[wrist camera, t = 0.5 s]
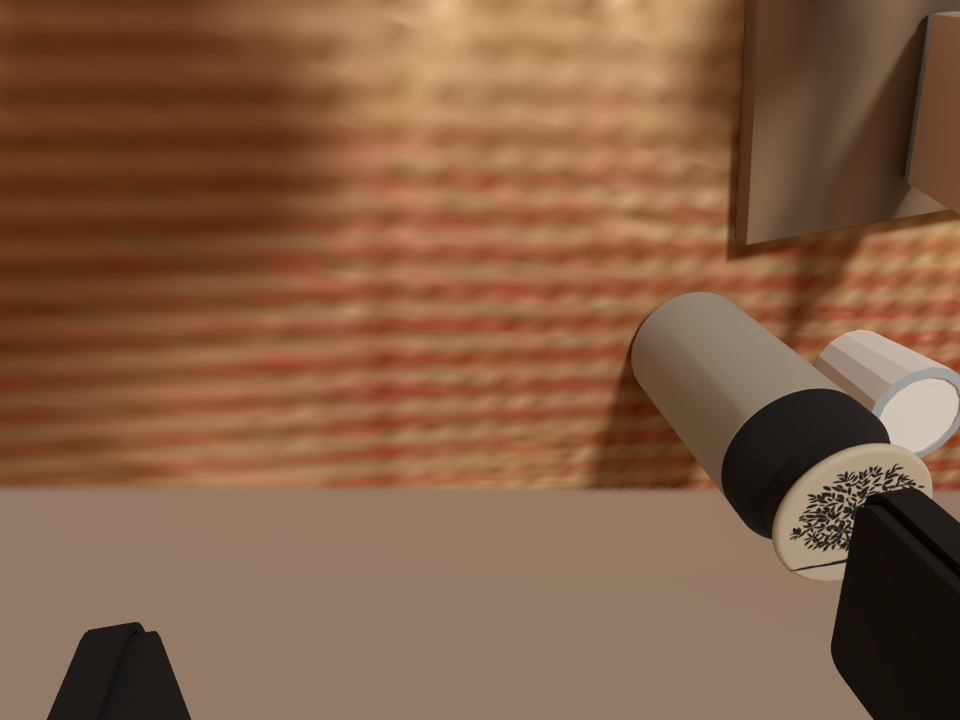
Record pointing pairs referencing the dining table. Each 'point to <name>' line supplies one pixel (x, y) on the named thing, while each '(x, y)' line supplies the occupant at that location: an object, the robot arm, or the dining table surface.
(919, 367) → the white cup
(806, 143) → the board
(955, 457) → the dining table surface
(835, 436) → the travel mug
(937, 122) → the tile
